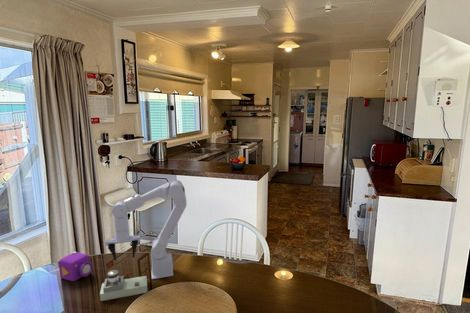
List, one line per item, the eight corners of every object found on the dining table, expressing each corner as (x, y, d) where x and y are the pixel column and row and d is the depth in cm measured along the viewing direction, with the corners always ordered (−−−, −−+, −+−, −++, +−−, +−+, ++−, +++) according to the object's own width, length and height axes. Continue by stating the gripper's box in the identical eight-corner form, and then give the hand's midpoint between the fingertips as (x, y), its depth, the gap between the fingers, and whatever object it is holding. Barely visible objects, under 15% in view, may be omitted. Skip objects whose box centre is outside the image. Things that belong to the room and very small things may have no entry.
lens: (119, 282, 129) (118, 269, 128) (119, 287, 125) (117, 274, 124) (109, 284, 127) (107, 271, 126) (108, 289, 123) (106, 276, 122)
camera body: (147, 281, 134) (146, 271, 133) (147, 292, 126) (146, 281, 125) (102, 289, 129) (101, 278, 128) (100, 301, 121) (99, 289, 120)
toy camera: (83, 284, 133) (81, 263, 131) (56, 281, 136) (54, 260, 134) (99, 271, 143) (97, 251, 142) (73, 268, 146) (71, 249, 144)
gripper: (139, 223, 140) (141, 251, 142) (105, 227, 136) (108, 256, 138) (139, 229, 133) (141, 258, 135) (103, 234, 129) (106, 263, 131)
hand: (124, 257), depth 136 cm, fingers open, 7 cm apart
